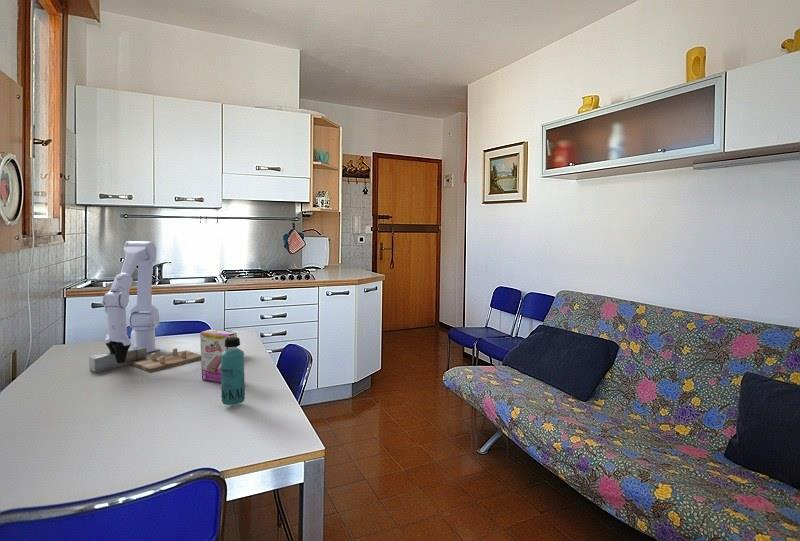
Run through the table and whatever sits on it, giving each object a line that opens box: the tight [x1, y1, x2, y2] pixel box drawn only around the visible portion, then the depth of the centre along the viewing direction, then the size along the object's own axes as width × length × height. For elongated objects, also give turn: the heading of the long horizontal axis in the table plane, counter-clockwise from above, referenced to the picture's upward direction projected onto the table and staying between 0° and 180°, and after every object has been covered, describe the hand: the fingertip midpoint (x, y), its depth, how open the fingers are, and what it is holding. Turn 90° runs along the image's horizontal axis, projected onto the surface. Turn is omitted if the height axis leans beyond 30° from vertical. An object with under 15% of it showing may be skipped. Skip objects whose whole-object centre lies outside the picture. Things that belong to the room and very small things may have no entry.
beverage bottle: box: [220, 336, 246, 406], centre depth 132 cm, size 6×7×20 cm
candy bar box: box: [199, 329, 238, 384], centre depth 153 cm, size 11×5×16 cm, turn 71°
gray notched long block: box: [88, 346, 148, 374], centre depth 168 cm, size 17×4×5 cm, turn 144°
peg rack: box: [132, 347, 201, 373], centre depth 172 cm, size 12×20×4 cm, turn 145°
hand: (119, 361), depth 168 cm, fingers closed on gray notched long block, 3 cm apart
